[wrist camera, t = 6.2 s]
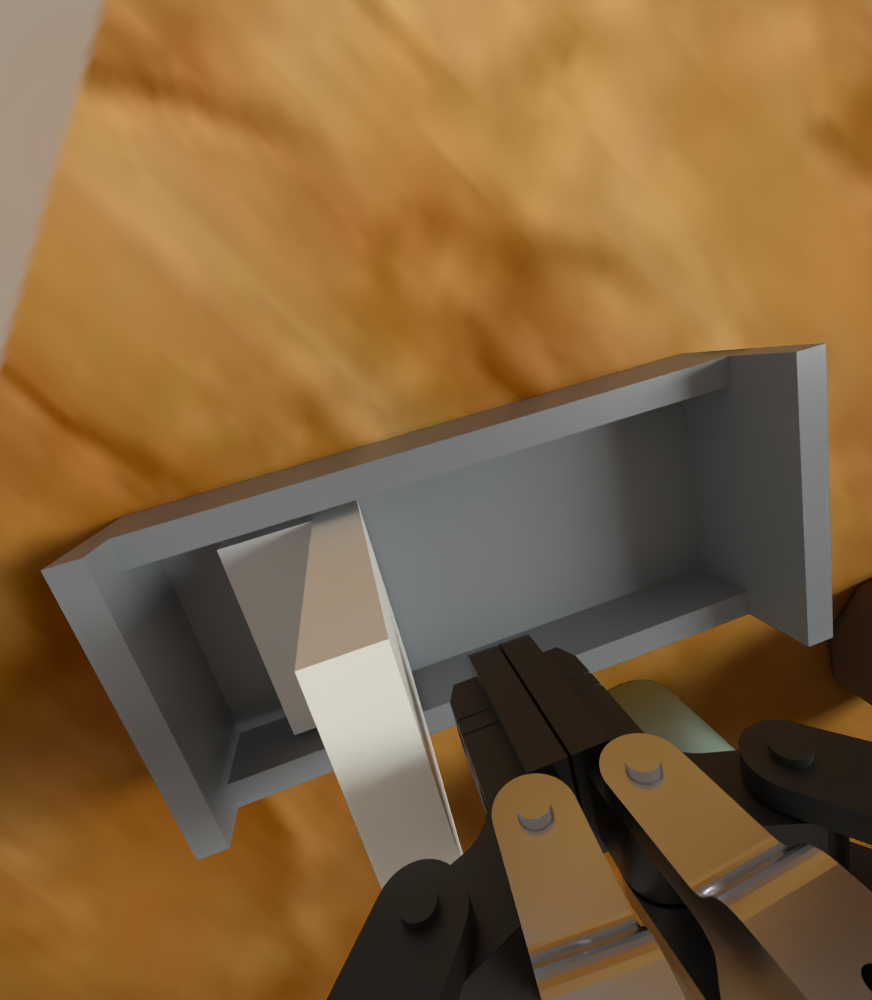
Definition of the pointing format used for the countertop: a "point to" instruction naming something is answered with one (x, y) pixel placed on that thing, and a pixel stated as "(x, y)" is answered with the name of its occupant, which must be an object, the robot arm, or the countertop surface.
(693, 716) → the jar
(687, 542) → the gray rectangular tray
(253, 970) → the countertop surface
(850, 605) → the beer bottle
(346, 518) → the pusher
